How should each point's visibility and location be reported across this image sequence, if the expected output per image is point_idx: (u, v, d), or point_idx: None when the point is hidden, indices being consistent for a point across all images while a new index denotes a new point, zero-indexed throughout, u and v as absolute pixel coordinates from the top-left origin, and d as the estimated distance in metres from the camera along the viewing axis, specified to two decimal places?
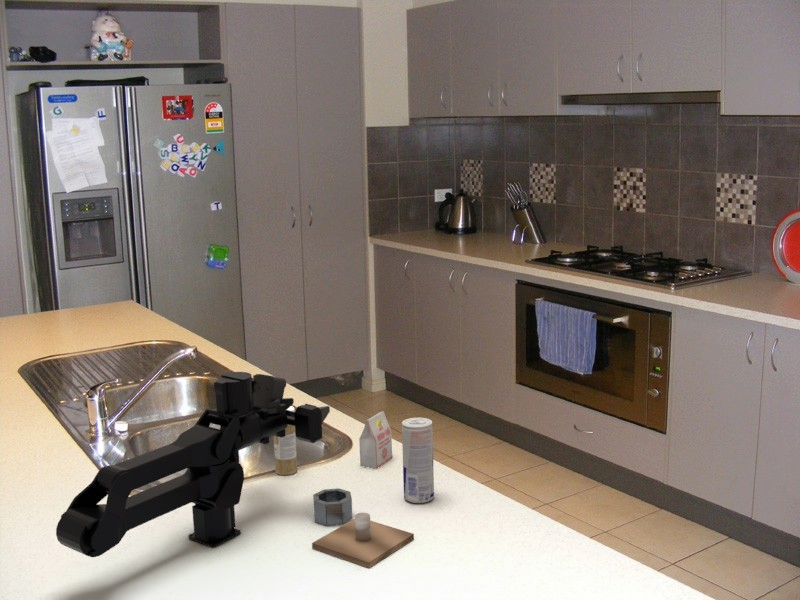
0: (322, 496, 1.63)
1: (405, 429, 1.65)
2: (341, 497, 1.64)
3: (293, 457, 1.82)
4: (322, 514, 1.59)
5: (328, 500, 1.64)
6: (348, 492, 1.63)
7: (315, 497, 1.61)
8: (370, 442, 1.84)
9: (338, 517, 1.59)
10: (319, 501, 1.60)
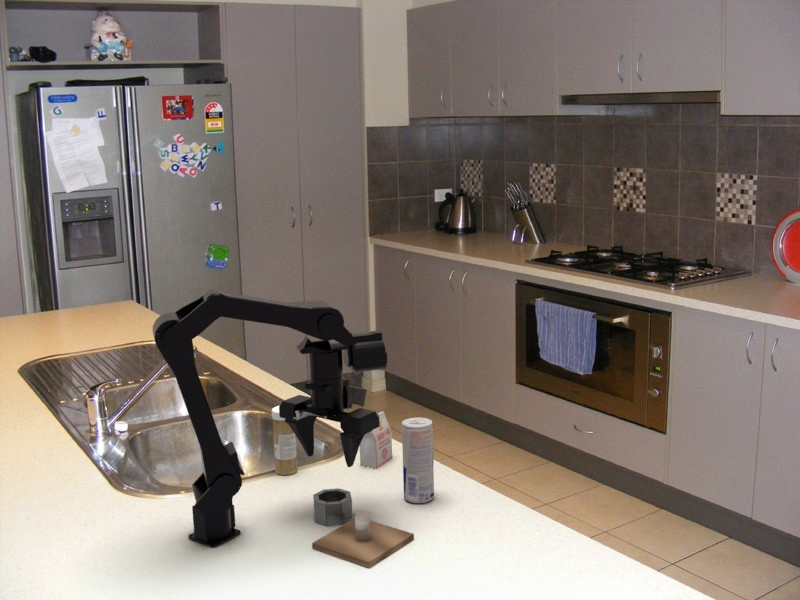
0: (322, 496, 1.63)
1: (405, 429, 1.65)
2: (341, 497, 1.64)
3: (293, 457, 1.82)
4: (322, 514, 1.59)
5: (328, 500, 1.64)
6: (348, 492, 1.63)
7: (315, 497, 1.61)
8: (370, 442, 1.84)
9: (338, 517, 1.59)
10: (319, 501, 1.60)
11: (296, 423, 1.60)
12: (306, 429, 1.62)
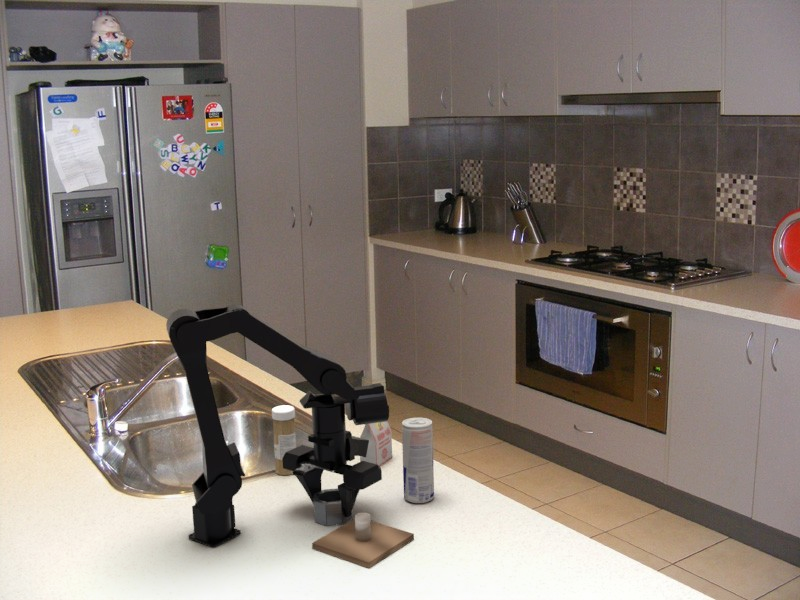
0: (322, 496, 1.63)
1: (405, 429, 1.65)
2: None
3: None
4: (322, 514, 1.59)
5: (328, 500, 1.64)
6: None
7: (315, 497, 1.61)
8: (370, 442, 1.84)
9: (338, 517, 1.59)
10: (319, 501, 1.60)
11: (304, 476, 1.61)
12: (314, 481, 1.63)
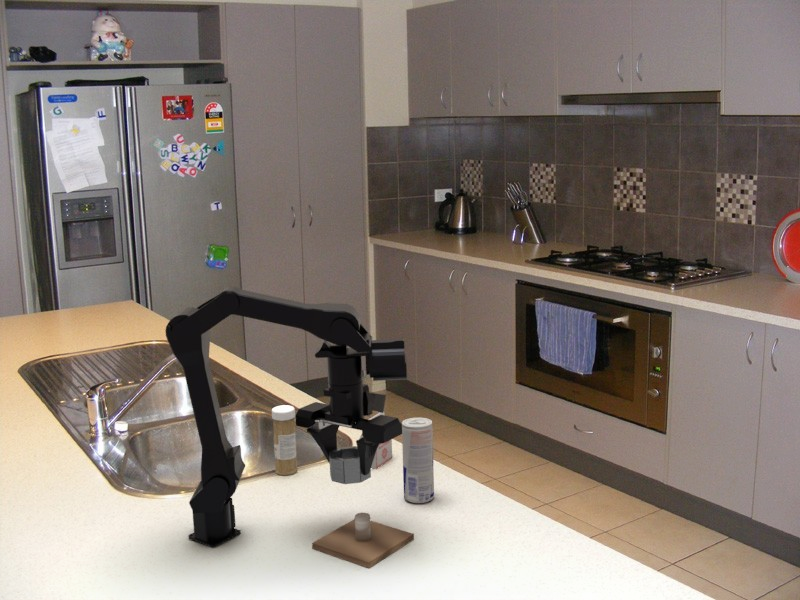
0: (338, 454, 1.55)
1: (405, 429, 1.65)
2: (358, 454, 1.56)
3: (293, 457, 1.82)
4: (340, 472, 1.51)
5: (344, 458, 1.56)
6: None
7: (331, 455, 1.53)
8: None
9: (356, 474, 1.51)
10: (336, 458, 1.52)
11: (319, 433, 1.53)
12: (329, 439, 1.55)
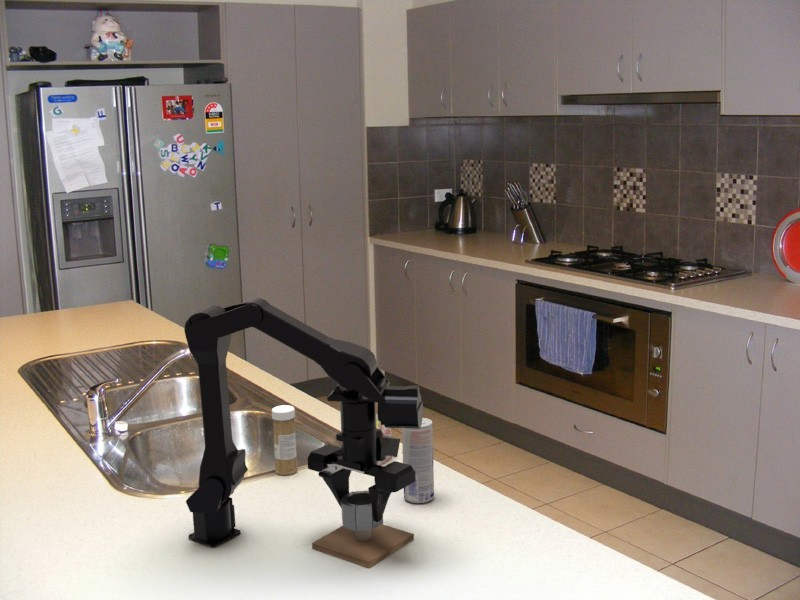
0: (350, 499, 1.52)
1: (405, 429, 1.65)
2: None
3: (293, 457, 1.82)
4: (351, 518, 1.48)
5: (357, 503, 1.53)
6: None
7: (343, 500, 1.50)
8: None
9: (368, 521, 1.48)
10: (348, 504, 1.49)
11: (331, 477, 1.50)
12: (341, 483, 1.52)
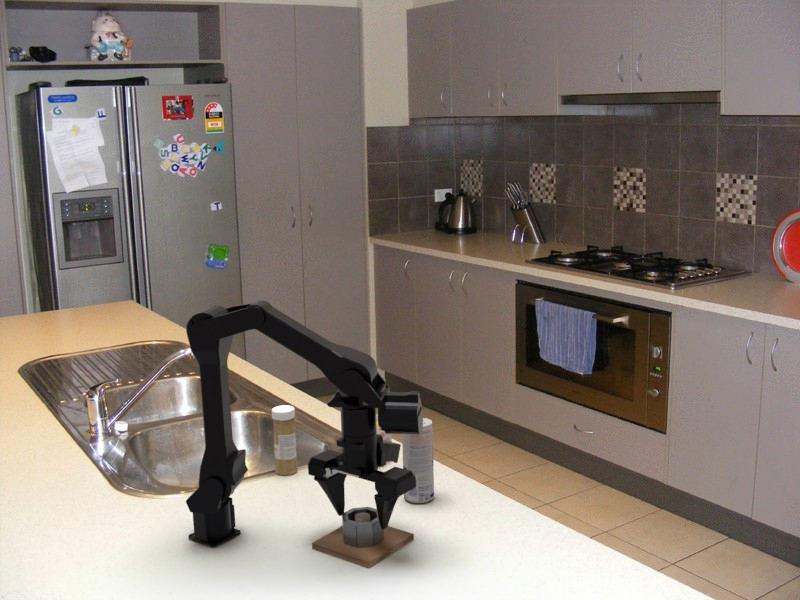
0: (351, 515, 1.53)
1: None
2: (372, 516, 1.53)
3: (293, 457, 1.82)
4: (352, 535, 1.49)
5: None
6: None
7: (344, 516, 1.51)
8: None
9: (369, 538, 1.49)
10: (349, 521, 1.49)
11: (326, 481, 1.51)
12: (336, 487, 1.53)
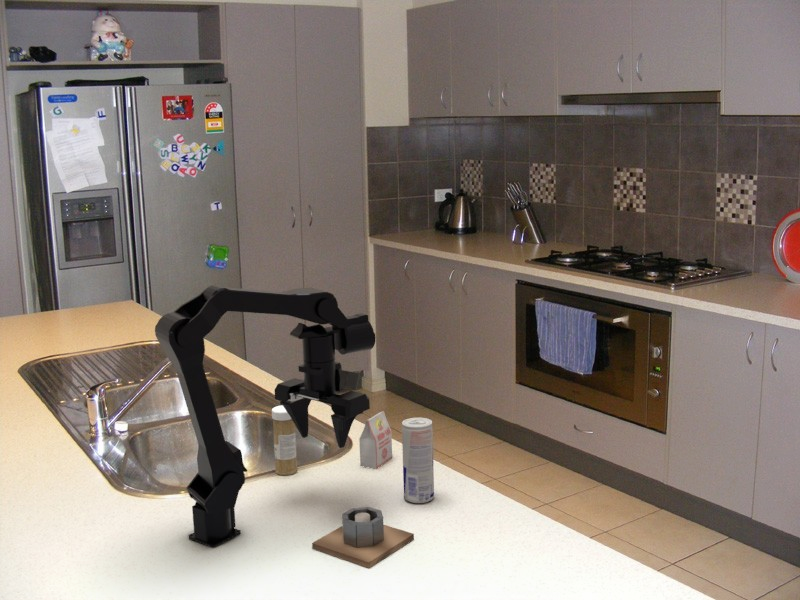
0: (351, 515, 1.53)
1: (405, 429, 1.65)
2: (372, 516, 1.53)
3: (293, 458, 1.82)
4: (352, 535, 1.49)
5: None
6: (379, 511, 1.53)
7: (344, 516, 1.51)
8: (370, 442, 1.84)
9: (369, 538, 1.49)
10: (349, 521, 1.49)
11: (290, 405, 1.66)
12: (300, 411, 1.67)
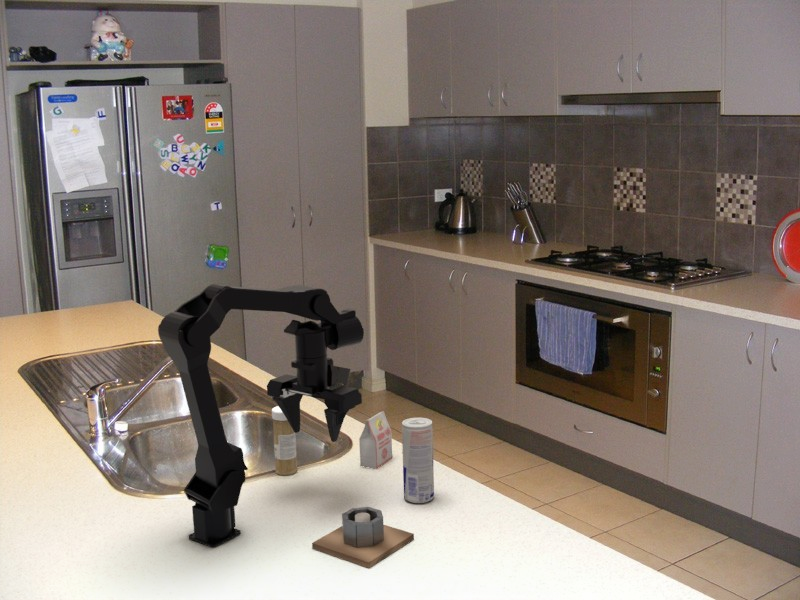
0: (351, 515, 1.53)
1: (405, 429, 1.65)
2: (372, 516, 1.53)
3: (293, 457, 1.82)
4: (352, 535, 1.49)
5: None
6: (379, 511, 1.53)
7: (344, 516, 1.51)
8: (370, 442, 1.84)
9: (369, 538, 1.49)
10: (349, 521, 1.49)
11: (283, 401, 1.68)
12: (293, 406, 1.70)
